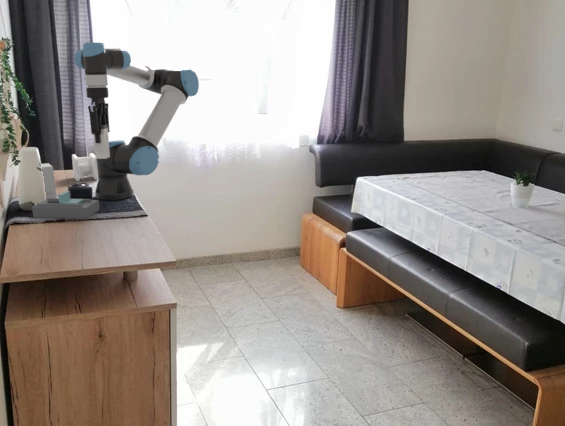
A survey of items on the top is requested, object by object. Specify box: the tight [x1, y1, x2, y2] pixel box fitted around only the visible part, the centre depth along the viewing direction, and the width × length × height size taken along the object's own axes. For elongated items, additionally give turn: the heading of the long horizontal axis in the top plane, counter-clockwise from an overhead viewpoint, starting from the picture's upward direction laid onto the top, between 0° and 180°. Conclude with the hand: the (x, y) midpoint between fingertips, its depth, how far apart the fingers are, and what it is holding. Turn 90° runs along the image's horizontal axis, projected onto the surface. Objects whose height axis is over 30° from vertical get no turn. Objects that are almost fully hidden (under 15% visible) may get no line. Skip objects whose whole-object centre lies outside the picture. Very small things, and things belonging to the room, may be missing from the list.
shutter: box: [57, 190, 85, 204], centre depth 214 cm, size 6×6×4 cm
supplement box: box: [40, 162, 57, 200], centre depth 232 cm, size 9×9×15 cm
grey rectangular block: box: [92, 125, 110, 159], centre depth 215 cm, size 4×4×12 cm
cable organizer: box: [71, 152, 98, 183], centre depth 276 cm, size 15×11×12 cm
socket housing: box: [31, 197, 100, 220], centre depth 215 cm, size 12×20×5 cm, turn 85°
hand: (102, 150), depth 216 cm, fingers closed on grey rectangular block, 4 cm apart
